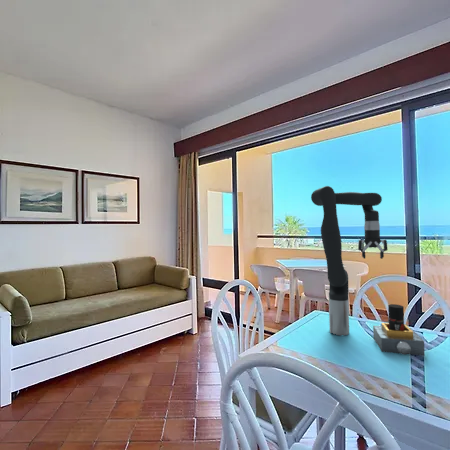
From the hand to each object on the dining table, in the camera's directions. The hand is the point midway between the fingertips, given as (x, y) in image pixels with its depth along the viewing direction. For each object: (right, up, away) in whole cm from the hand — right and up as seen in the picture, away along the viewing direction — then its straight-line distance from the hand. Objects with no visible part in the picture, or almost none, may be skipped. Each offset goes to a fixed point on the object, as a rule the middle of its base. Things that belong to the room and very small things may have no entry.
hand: (372, 258), depth 159 cm
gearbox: (-5, -36, -30) cm, 47 cm away
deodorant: (-5, -33, -30) cm, 45 cm away
